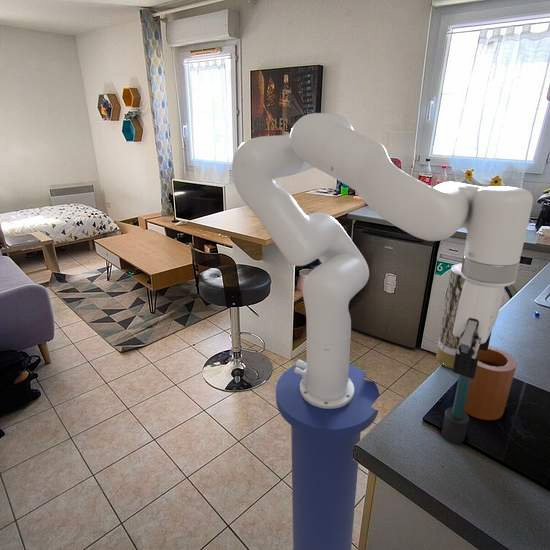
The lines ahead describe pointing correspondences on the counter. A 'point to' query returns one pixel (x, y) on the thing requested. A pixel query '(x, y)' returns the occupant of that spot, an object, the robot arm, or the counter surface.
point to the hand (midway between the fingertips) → (470, 360)
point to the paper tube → (450, 319)
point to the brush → (457, 414)
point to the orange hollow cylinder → (490, 384)
